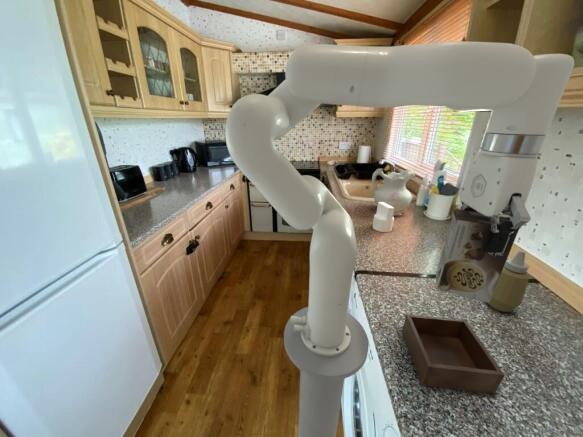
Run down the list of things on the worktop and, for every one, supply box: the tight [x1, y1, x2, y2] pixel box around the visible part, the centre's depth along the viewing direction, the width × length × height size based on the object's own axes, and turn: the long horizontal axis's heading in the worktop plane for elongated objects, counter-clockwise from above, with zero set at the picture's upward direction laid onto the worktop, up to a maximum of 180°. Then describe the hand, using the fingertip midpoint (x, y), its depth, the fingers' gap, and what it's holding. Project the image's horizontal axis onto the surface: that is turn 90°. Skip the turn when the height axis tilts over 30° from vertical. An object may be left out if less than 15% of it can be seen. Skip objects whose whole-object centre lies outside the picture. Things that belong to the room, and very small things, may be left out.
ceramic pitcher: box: [371, 167, 416, 217], centre depth 134 cm, size 22×20×25 cm
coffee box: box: [435, 208, 520, 304], centre depth 48 cm, size 9×6×16 cm
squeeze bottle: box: [487, 249, 530, 313], centre depth 67 cm, size 8×8×18 cm
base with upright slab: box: [372, 202, 395, 233], centre depth 116 cm, size 9×9×12 cm
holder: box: [401, 314, 505, 395], centre depth 53 cm, size 14×14×6 cm
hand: (476, 239), depth 46 cm, fingers closed on coffee box, 7 cm apart
